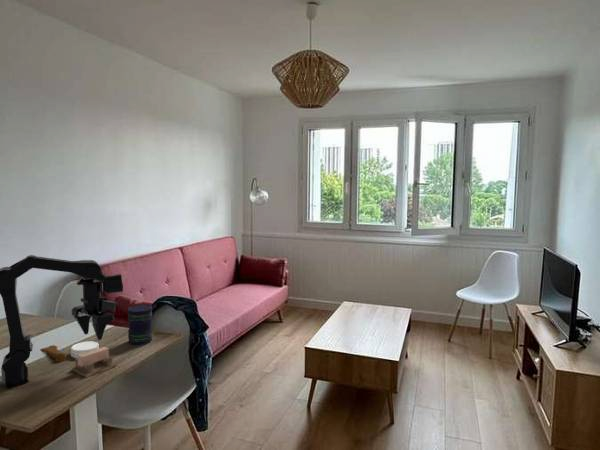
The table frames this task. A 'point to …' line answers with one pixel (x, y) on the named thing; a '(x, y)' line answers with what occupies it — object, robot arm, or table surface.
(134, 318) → the storage jar
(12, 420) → the table surface
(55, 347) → the primitive tool
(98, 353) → the pinkish tan rectangular block
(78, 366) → the tan two-rail tray
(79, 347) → the coaster
